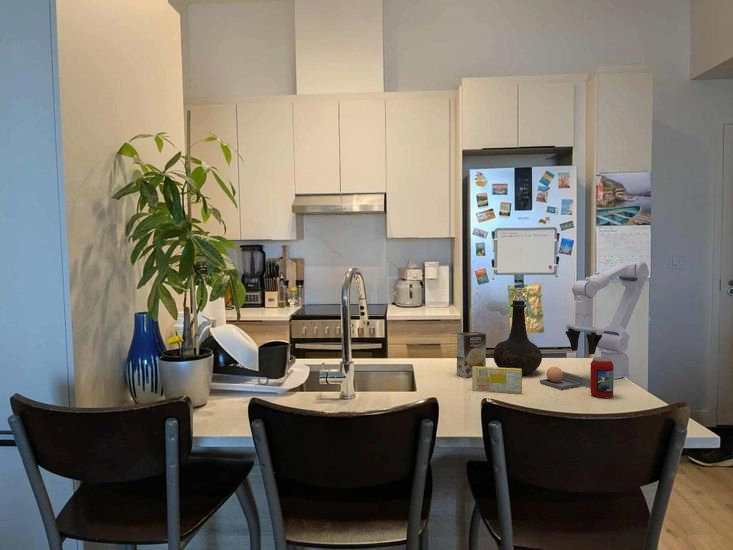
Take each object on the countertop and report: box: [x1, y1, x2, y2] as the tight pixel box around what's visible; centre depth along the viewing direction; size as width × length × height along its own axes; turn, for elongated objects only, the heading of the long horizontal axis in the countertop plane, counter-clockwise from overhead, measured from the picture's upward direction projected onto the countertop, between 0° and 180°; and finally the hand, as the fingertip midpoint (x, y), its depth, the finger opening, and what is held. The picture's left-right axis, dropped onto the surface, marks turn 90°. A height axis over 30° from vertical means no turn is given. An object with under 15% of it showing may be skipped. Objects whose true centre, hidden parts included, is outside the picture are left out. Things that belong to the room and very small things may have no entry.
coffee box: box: [456, 331, 487, 379], centre depth 196 cm, size 9×6×16 cm
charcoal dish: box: [539, 378, 582, 391], centre depth 181 cm, size 9×10×1 cm
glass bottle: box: [492, 299, 543, 376], centre depth 199 cm, size 18×18×28 cm
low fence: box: [562, 371, 590, 389], centre depth 184 cm, size 1×16×3 cm, turn 26°
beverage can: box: [589, 356, 615, 399], centre depth 167 cm, size 7×7×12 cm
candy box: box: [471, 366, 523, 395], centre depth 174 cm, size 16×2×8 cm, turn 71°
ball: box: [546, 366, 563, 382], centre depth 183 cm, size 6×6×6 cm
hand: (583, 352), depth 185 cm, fingers open, 7 cm apart
